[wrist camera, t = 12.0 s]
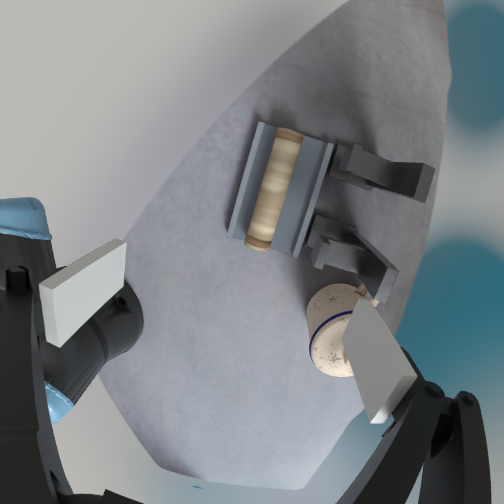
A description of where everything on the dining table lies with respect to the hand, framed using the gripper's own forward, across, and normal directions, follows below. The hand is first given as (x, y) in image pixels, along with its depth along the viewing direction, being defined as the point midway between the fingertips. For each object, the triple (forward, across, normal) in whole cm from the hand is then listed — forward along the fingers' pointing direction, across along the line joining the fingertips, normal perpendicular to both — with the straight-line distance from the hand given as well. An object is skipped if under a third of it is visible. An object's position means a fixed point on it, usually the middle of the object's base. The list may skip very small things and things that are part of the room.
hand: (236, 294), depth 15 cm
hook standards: (+21, +10, +5) cm, 24 cm away
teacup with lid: (+21, +14, -8) cm, 27 cm away
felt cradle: (+21, +2, +4) cm, 22 cm away
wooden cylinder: (+21, +2, +4) cm, 21 cm away
